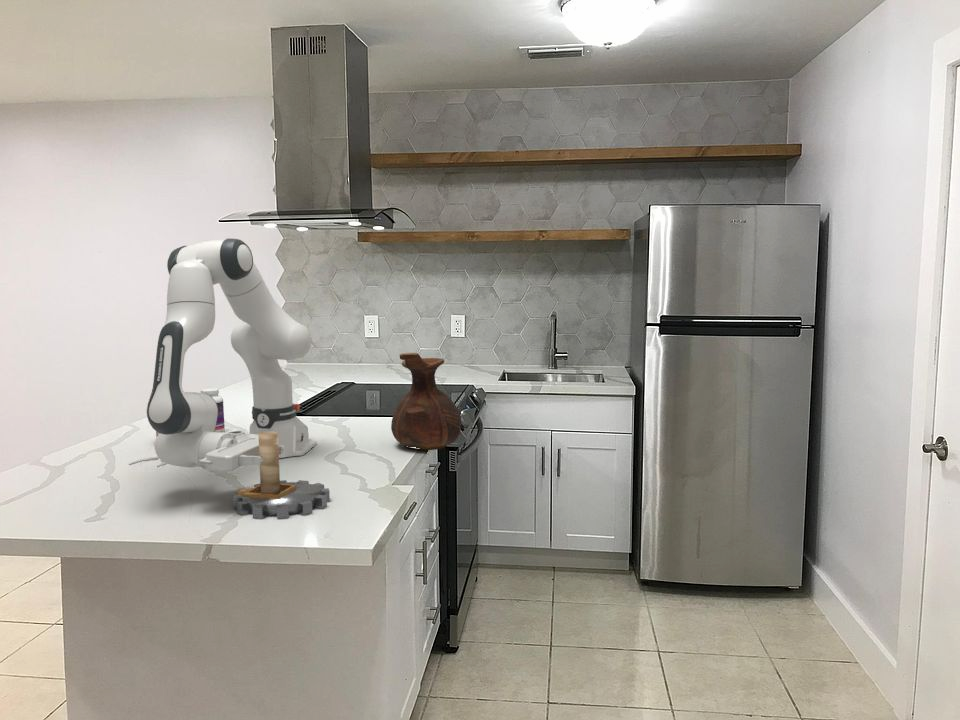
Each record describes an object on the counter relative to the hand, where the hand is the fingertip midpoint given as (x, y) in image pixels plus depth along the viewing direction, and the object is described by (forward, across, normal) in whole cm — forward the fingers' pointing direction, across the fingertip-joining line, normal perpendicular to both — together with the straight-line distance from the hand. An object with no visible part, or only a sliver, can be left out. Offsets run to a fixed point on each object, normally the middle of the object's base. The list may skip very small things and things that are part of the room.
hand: (272, 455), depth 180 cm
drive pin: (-1, 0, +9) cm, 9 cm away
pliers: (-52, +28, +12) cm, 60 cm away
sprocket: (+2, 0, +12) cm, 12 cm away
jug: (+16, +62, +12) cm, 65 cm away
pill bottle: (-58, +61, +12) cm, 85 cm away
